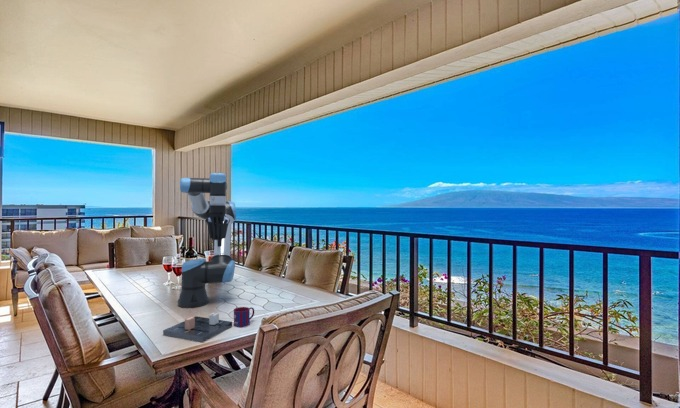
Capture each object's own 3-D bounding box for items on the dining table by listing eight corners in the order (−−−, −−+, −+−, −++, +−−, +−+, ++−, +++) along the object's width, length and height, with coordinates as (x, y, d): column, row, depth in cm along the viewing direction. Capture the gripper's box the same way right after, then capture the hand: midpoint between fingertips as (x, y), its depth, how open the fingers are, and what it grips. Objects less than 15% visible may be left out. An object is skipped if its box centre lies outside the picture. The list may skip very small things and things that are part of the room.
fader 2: (209, 324, 144) (209, 314, 144) (214, 321, 146) (214, 312, 146) (213, 324, 143) (213, 315, 143) (218, 322, 146) (218, 313, 146)
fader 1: (184, 329, 138) (184, 319, 138) (190, 326, 141) (190, 316, 141) (189, 329, 137) (189, 319, 137) (194, 327, 140) (194, 317, 140)
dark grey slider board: (163, 335, 137) (163, 330, 137) (195, 320, 154) (195, 316, 154) (202, 342, 130) (202, 337, 130) (232, 326, 147) (232, 321, 147)
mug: (230, 324, 150) (231, 309, 150) (250, 319, 157) (251, 304, 157) (238, 328, 145) (238, 312, 145) (258, 322, 152) (258, 307, 152)
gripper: (201, 204, 163) (201, 253, 163) (223, 205, 159) (223, 255, 159) (212, 204, 170) (211, 251, 170) (233, 204, 166) (233, 252, 166)
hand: (217, 253), depth 165 cm, fingers closed
